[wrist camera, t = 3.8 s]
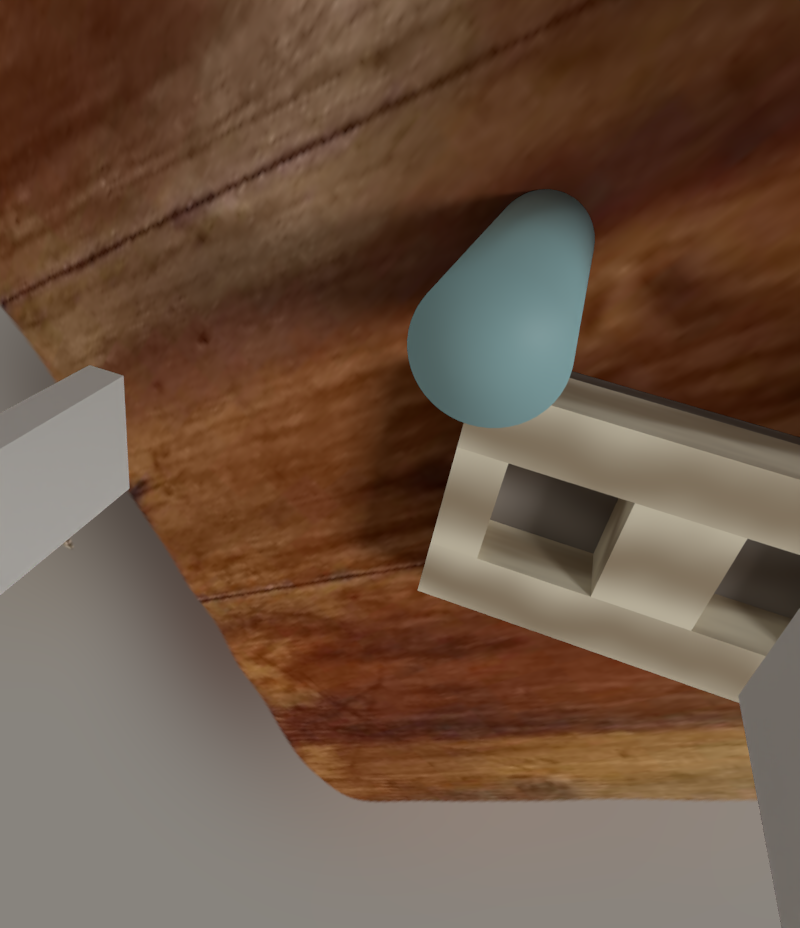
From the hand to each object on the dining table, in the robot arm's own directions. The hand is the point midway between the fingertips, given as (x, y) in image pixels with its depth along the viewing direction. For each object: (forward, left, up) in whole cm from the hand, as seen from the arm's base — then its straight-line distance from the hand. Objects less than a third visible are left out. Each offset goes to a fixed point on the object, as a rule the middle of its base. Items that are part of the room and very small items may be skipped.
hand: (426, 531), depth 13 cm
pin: (0, 0, -25) cm, 25 cm away
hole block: (+13, +11, -25) cm, 30 cm away
